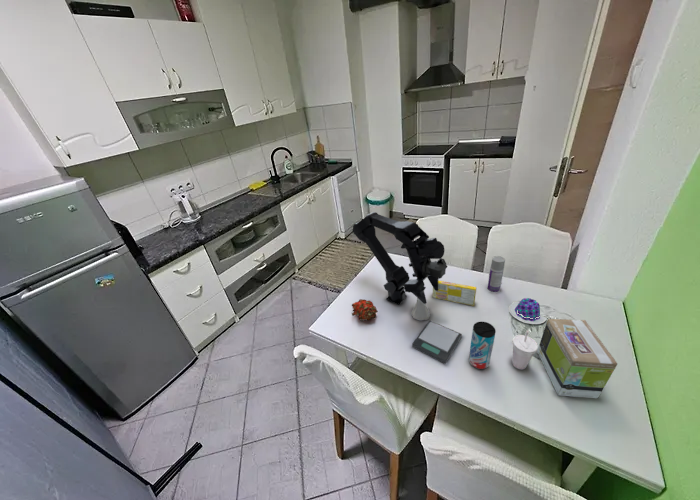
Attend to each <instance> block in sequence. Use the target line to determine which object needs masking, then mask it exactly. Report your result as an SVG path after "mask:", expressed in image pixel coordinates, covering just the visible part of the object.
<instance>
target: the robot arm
mask: <svg viewBox="0 0 700 500" xmlns="http://www.w3.org/2000/svg"><path fill="white" fill-rule="evenodd" d="M352 225H353V226H352V233H353V234H354V236H355V237H356V238H357V239H358V240H359V241H360V242H363V243H365V244H366V245H367V247H368V249H369V250H370V251H371V253H372V254H373V255H374V257H375V258H376V260H377V262H378V263H379V265H380V266H381V267H382V269H383V270H384V272H385V280H386V283H384V284H383V288H384V290H385V291H387V297H386V299H385V300H386V301H388V302H390V303H393V304H395V305H397V306H400V305H401V304H402V302H404V301H405V300H406V298H407V296H408V295H406V293H411V294H412V295H414V296H415V297H416V299H417V298H418V299H419V300H420V301H422V302H423V303H424V304H426V305H427V298H426V294H425V290H426V286H425V282H424V281H425V280H426V279H428V281H429V283H430V285H431V287H432V289H433V288H434V289H435V291H438V281H439V280H441V279H442V278H443V277H444V275H446V271H447V270H446V269H447V268H448V265H447V261H446V259H445V258H443V257H444V255H445V251H446V250H445V245H444V244H443V243H442V242H441V241H439V240H438V239H437V237H432V238H430V236H429V234H428V233H427V232H425V231H424V230H423V229H422V228H421V227H420V225H419V224H418V223H416V222H414V221H405V220H404V221H399V220H396V219H392V218H391V217H387V216H384V215H382V214H378V212H375V211H373V212H370V213H368V214H367V215H365V216H364V217H363V219H361V220H359V221H358V222H356V223H354V224H352ZM376 228H377V229H379V230H382V231H384V232H387V233H389V234H391V235H393V236H394V238H395V239H396V240H397V241H399V242H401V243H402V245H401V246H400V249H402V250H403V249H405V250H406V254H407V257H408V259H409V263H408V266H409V268H412V270H413V273H412V278H415V279H412V278H411V279H410V276H409V272H407V270H406V268H405V267H404V266H403V265H401V266H399V265H397V264H396V263H395V262H394V260H393V259H392V257H391V255H390V254H389V253H388V252H387V250H386V249H385V247H384V246H383V244H382V243H381V241H380V240H379V238H378V237H377V234H376V233H377V232H376ZM432 260H435V261H432ZM436 260H437V261H436Z"/></svg>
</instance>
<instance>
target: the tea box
mask: <svg viewBox="0 0 700 500" xmlns="http://www.w3.org/2000/svg"><path fill="white" fill-rule="evenodd" d="M542 332H543V333H542V335H541V339H540V341H539V344H538V350H537V352H536V353H537V354H538V356H539V358H540V361H541V362H542V364H543V367H544V369H545V371H546V373H547V375H548V378H549V379H550V381H551V383H552V386H553V388H554V389H555V392H556V394H557V396H561V397H575V398H585V399H586V398H587V399H598V398H599V397H600V396H601V394H602V392H603V390H604V389H605V388H606V385H607V383H608V382H609V380H610V378H611V377H612V375H613V373H614V371H615V370H616V368H617V366H618V362H617V361H616V359H615V358H614V356H613V355H612V353H610V351H609V349H608V348H607V347H606V346H605V344H604V343H603V342H602V341H601V339H600V338H599V337H598V335H597V334H596V333H595V331H594V330H593V328H592V327H591V326H590V324H589V323H588V321H586V320H585V319H566V318H547V320H546V324H545V327H544V330H543V331H542Z"/></svg>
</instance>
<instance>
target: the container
mask: <svg viewBox="0 0 700 500" xmlns="http://www.w3.org/2000/svg"><path fill="white" fill-rule="evenodd" d="M505 264H506V259H505V257H503V256H502V255H501V256H500V255H495V256H493V257H492V258H491V263H490V269H489V275H488V280H487V290H488V291H489V292H491V293H500V291H501V285H502V281H503V276H504V270H505Z"/></svg>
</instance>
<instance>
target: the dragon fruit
mask: <svg viewBox="0 0 700 500" xmlns="http://www.w3.org/2000/svg"><path fill="white" fill-rule="evenodd" d="M351 307H352V309H353V310H352V312H351V316H352V317H354V316H358V320H360V321H361V322H363V321H367V322H370V321H371V320H375V319H376V318H377V313H378V312H379V311H378V309H377V307H376V306H375V305H374V303H373V301H371V300H369V299H368V300H367V299H361V298H360V299H358V301H355V302H353V303H352V304H351Z"/></svg>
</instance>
